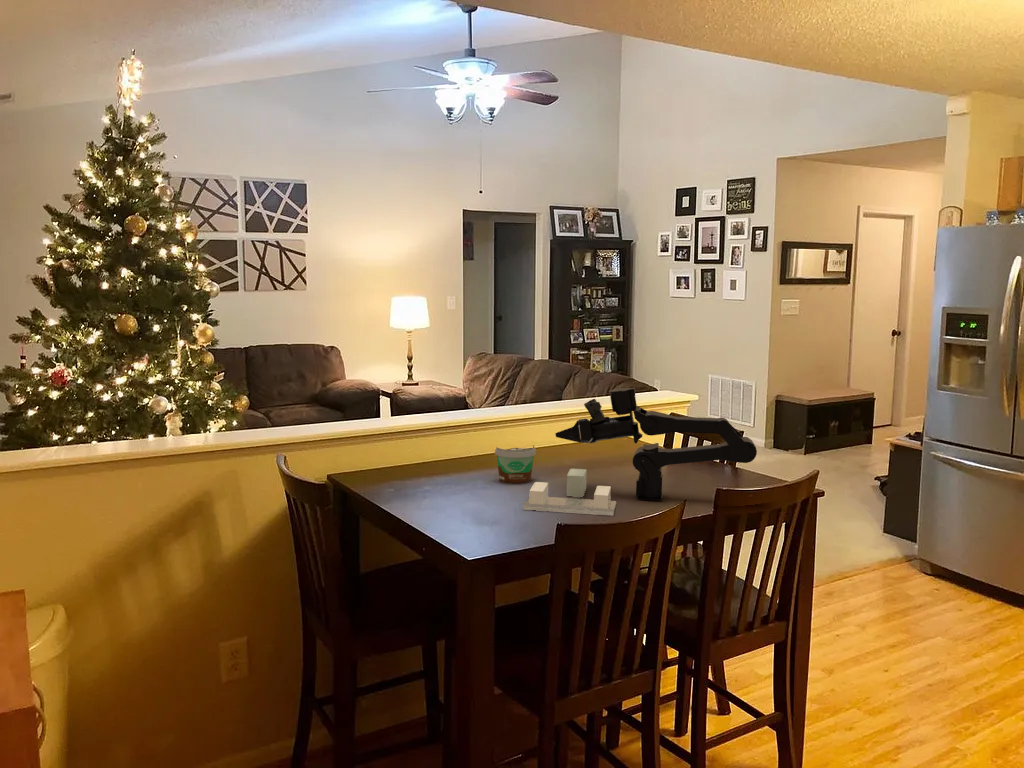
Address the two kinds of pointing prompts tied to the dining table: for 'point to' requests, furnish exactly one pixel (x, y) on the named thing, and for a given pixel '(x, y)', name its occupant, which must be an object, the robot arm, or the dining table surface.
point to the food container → (515, 464)
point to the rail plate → (570, 506)
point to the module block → (576, 482)
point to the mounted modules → (540, 495)
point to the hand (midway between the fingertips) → (558, 435)
